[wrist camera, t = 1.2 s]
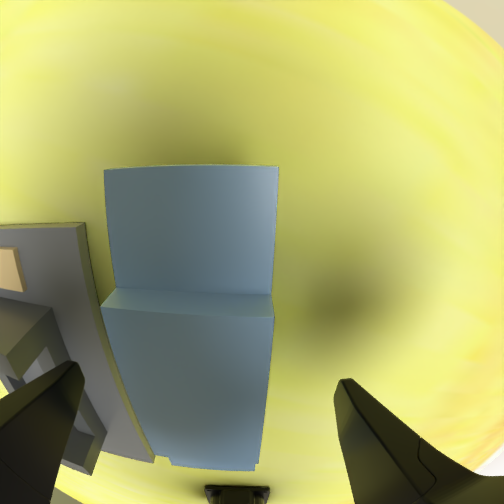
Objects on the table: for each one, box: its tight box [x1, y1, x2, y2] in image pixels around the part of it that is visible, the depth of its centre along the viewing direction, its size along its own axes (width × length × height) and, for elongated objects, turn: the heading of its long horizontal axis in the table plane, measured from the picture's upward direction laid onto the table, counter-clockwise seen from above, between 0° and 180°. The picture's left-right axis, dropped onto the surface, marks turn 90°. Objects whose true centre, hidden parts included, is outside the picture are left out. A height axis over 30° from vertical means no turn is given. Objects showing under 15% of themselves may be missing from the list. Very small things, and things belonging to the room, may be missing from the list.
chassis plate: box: [0, 222, 155, 476], centre depth 12 cm, size 20×14×5 cm
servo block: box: [100, 164, 279, 471], centre depth 10 cm, size 13×4×6 cm, turn 178°
